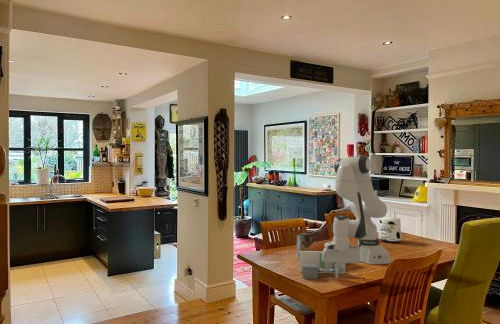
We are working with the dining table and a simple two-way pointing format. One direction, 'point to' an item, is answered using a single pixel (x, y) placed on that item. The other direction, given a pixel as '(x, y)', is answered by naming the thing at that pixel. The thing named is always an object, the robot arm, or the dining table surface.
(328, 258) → the robot arm
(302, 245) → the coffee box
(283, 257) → the dining table surface
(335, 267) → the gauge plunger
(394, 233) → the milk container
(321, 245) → the bread
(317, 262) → the gauge housing
